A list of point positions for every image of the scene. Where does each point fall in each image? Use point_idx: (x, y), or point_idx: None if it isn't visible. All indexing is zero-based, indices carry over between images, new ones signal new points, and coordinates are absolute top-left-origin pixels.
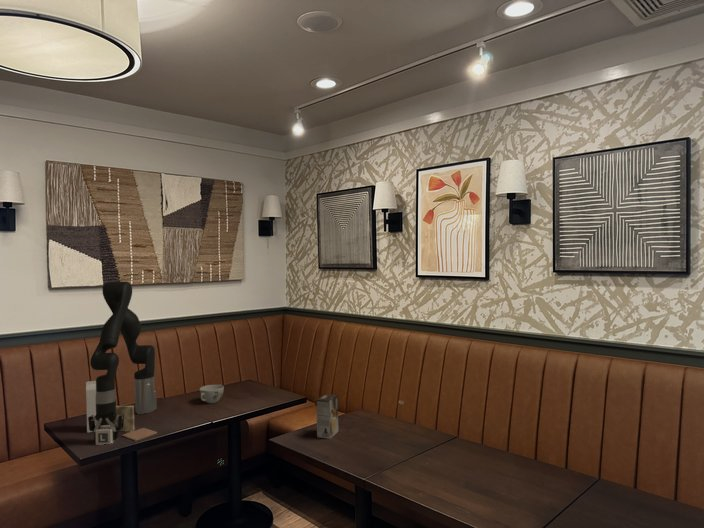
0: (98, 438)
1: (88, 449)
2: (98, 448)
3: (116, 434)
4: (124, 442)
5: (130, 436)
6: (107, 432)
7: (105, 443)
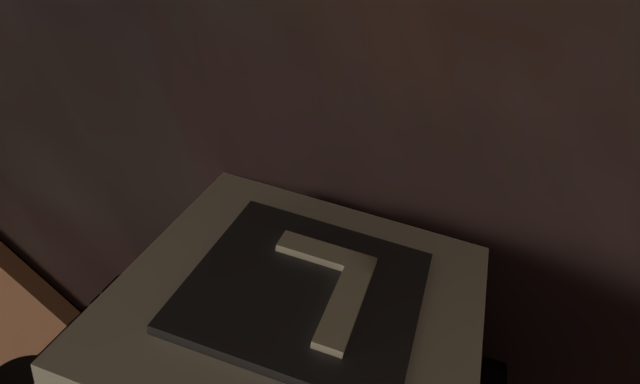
0: (414, 311)
1: (615, 40)
2: (388, 36)
3: None
4: (52, 184)
5: (48, 330)
6: (145, 348)
7: (303, 209)
